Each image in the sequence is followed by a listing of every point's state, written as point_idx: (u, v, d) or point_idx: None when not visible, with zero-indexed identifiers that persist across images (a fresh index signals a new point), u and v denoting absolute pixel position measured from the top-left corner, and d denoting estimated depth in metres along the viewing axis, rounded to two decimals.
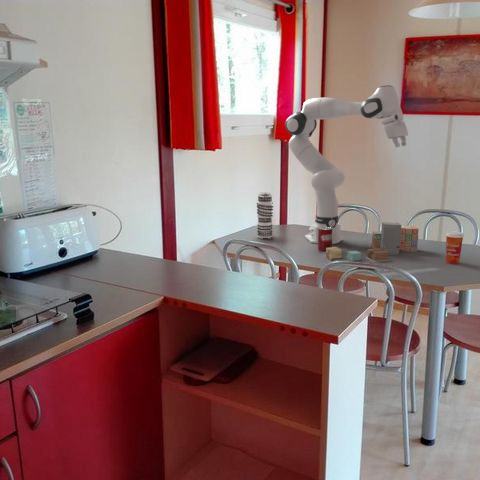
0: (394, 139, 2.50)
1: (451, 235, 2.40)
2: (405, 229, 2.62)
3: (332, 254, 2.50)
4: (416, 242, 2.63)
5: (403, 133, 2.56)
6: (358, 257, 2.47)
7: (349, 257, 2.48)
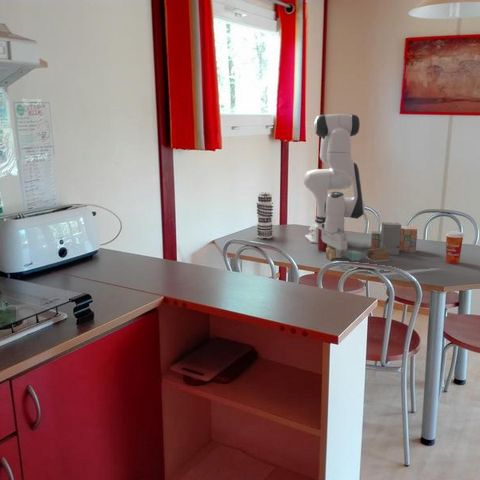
0: None
1: (451, 235, 2.40)
2: (403, 229, 2.61)
3: (332, 254, 2.50)
4: (415, 243, 2.62)
5: (333, 245, 2.49)
6: (358, 257, 2.47)
7: (349, 257, 2.48)
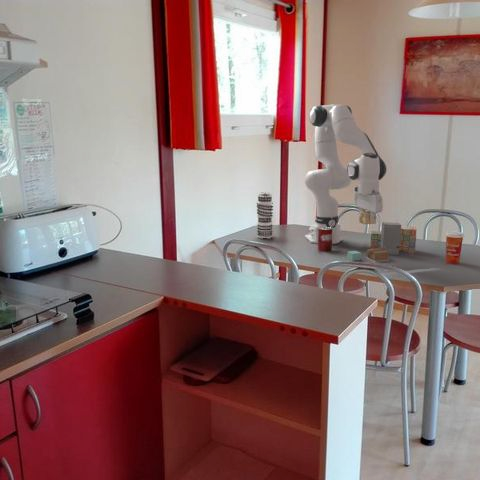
0: None
1: (451, 235, 2.40)
2: (403, 230, 2.61)
3: (366, 217, 2.42)
4: (414, 243, 2.61)
5: (367, 208, 2.41)
6: (358, 257, 2.47)
7: (349, 257, 2.48)
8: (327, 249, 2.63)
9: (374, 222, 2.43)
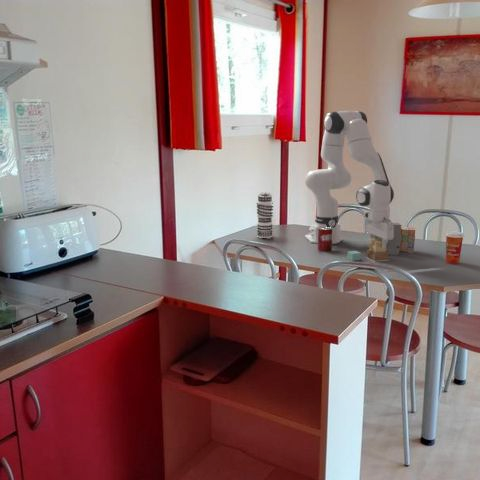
0: None
1: (451, 235, 2.40)
2: (401, 230, 2.60)
3: (377, 245, 2.44)
4: (413, 243, 2.60)
5: (378, 234, 2.43)
6: (358, 257, 2.47)
7: (349, 257, 2.48)
8: (327, 249, 2.63)
9: (384, 250, 2.46)
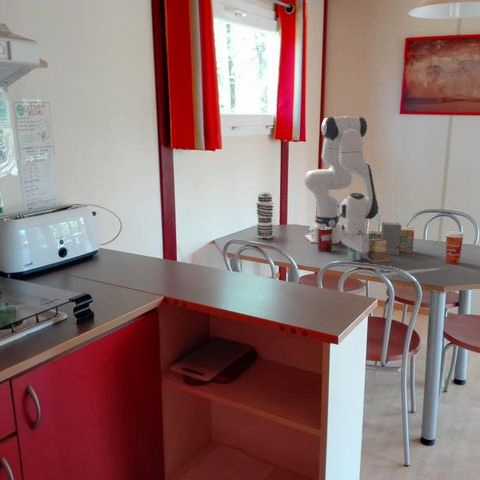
0: None
1: (451, 235, 2.40)
2: None
3: (377, 245, 2.44)
4: (411, 244, 2.59)
5: (353, 247, 2.44)
6: None
7: (349, 257, 2.48)
8: (327, 249, 2.63)
9: (384, 250, 2.46)
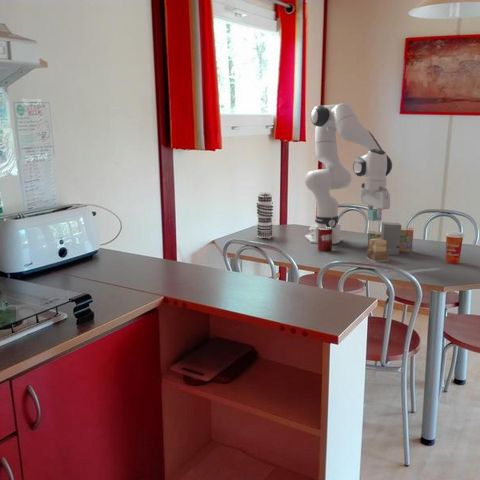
0: None
1: (451, 235, 2.40)
2: None
3: (377, 245, 2.44)
4: (411, 244, 2.59)
5: (374, 204, 2.39)
6: None
7: (369, 215, 2.43)
8: (327, 249, 2.63)
9: (384, 250, 2.46)
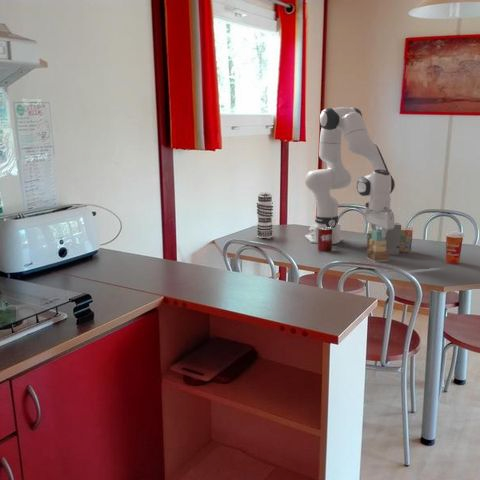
0: None
1: (451, 235, 2.40)
2: None
3: (377, 245, 2.44)
4: (410, 244, 2.60)
5: (378, 224, 2.42)
6: None
7: (373, 236, 2.46)
8: (327, 249, 2.63)
9: (384, 250, 2.46)
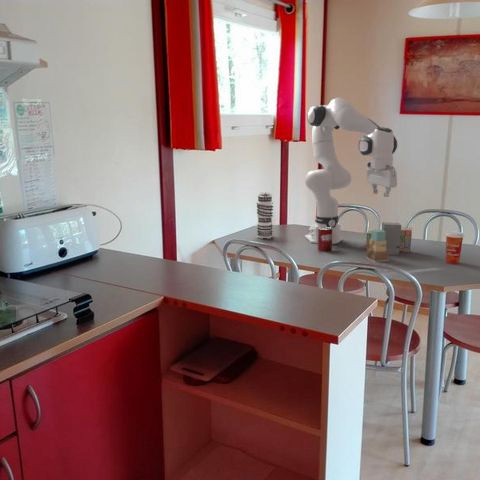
0: None
1: (451, 235, 2.40)
2: None
3: (377, 245, 2.44)
4: (409, 244, 2.60)
5: (380, 183, 2.38)
6: (383, 235, 2.44)
7: (373, 236, 2.46)
8: (327, 249, 2.63)
9: (384, 250, 2.46)
